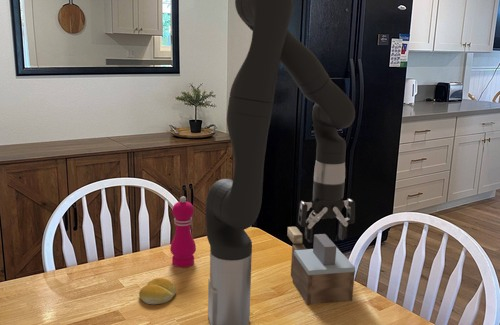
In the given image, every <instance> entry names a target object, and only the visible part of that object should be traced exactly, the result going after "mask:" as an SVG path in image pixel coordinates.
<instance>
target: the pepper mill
mask: <svg viewBox="0 0 500 325" xmlns="http://www.w3.org/2000/svg"><path fill="white" fill-rule="evenodd" d="M171 210H172V215H173V217H174V218H173V221H174V225H175V234H174V237H173V239H172V240H171V243H170V253H171V255H172V258H171V261H172V262H171V263H172V265H173V266H175V267H178V268H188V267H191V266H192V265H194V263H195V255H194V254H196V250H197V246H196V242H195V240H194V238H193V235H192V231H191V225H192V224H193V221H192V220H193V218H192V216H193V215H194V214H195V209H194V206H193V204H192V203H191V202H189V201H187V198H186V196H184V195H183V196H181V197H180V198H179V201H177V202H176V203H174V204H173V206H172V209H171Z"/></svg>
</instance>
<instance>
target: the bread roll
mask: <svg viewBox="0 0 500 325" xmlns="http://www.w3.org/2000/svg"><path fill="white" fill-rule="evenodd" d="M176 288H177V287H176V286H175V284H174V283H173V281H171V280H169V279H167V278H164V277H157V278H154V279H152V280H150V281H149V282H147V284H146V285H144V286H143V287H141V288H140V289H139V293H138V296H139V298H140V299H141V301H143V302H144V304H148V305H159V304H160V305H161V304H165V303H168V302H170V300H171V299H172V298H173V297H175V295H176V294H177V293H176V292H177V290H176Z"/></svg>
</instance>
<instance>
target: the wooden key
mask: <svg viewBox="0 0 500 325" xmlns="http://www.w3.org/2000/svg"><path fill="white" fill-rule="evenodd" d="M286 236H287V237H288V239H289V240H290V241H291V242H292V245H298V244H303V233H302V232H301V231H300V229H299V228H298V227H297V226H287V235H286Z"/></svg>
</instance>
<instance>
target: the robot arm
mask: <svg viewBox="0 0 500 325" xmlns="http://www.w3.org/2000/svg"><path fill="white" fill-rule="evenodd" d="M293 4H294V0H234V6H235V10H236V12H237V15H238V16H239V17H240V19H241V21H242V22H243V23H244V24H245V25H246V26H247V27H248V28H249V29H250V30H251V31H252V34H251V35H252V36H251V41H250V46H249V49H248V52H247V54H246V57H245V58H244V61H243V63H242V65H241V66H240V68H239V69H238V71H237V73H236V75H235V77H234V79H233V82H232V84H231V87H230V91H229V97H228V103H227V109H226V110H227V113H226V126H227V131H228V135H229V139H230V143H231V147H232V153H233V159H234V170H233V171H234V172H233V176H232V178H233V179H231V178H221V179H219V180H217V181H216V182H214V183H213V184H212V185H211V186H210V187H209V190H208V192H207V195H206V199H205V200H206V201H205V224H206V236H207V237H206V238H207V241H208V244H209V248H210V250H209V252H210V253H209V279H208V288H207V289H208V291H207V292H208V293H207V296H208V297H207V301H208V302H207V304H208V305H207V317H208V322H209V325H249V324H250V319H251V318H250V316H251V288H252V287H251V283H252V280H251V279H252V262H253V261H252V258H253V257H252V254H253V242H252V239H251V237H250V235H248V233H247V232H246V230H247V229H248V228H250V227H251V226H253V225H254V224H255V222H256V221H257V219H258V217H259V214H260V212H261V207H262V202H263V200H262V199H263V187H264V186H263V185H264V171H265V170H264V168H265V160H266V159H265V158H266V152H267V142H268V136H269V130H270V125H271V118H272V115H273V114H272V113H273V107H274V102H275V101H274V100H275V93H276V87H277V86H276V85H277V79H278V75H279V68H280V63H281V65H282V66H283V67H284V69H285V70H286V71H287V73H288V75H290V77H291V79H292V80H293V82H294V83H295V84H296V86H297V87H298V89H299V90H300V92H301V93H302V95H303V96H304V97H305V98H306V100H308V101H310V102H312V103H314V105H313V108H312V114H311V115H312V118H311V119H312V126H313V131H314V138H315V142H316V150H315V152H316V153H315V154H316V155H315V164H314V170H313V171H314V172H313V185H312V199H311V201H309V202H308V201H307V202H306V201H304V200H301V201H299V210H298V218H297V223H298V225H300V227H302V228H304V238H305V239H306V241H307V242H308V243H313V236H314V235H313V233H314V232H313V230H314V229H313V227H314V226H315V225H316V223H318V222H319V221H320V220H326V219H332V220H333V219H335V218H336V219H337V220H338V221H339V223H338V236H337V237H338V239H339V240H340V241H343V240H345V238H346V237H347V231H348V226H349V225H350V224H355V222H356V202H355V201H354V200H353V199H352V198H350V197H349V198H347V199H346V200H344V193H345V183H346V182H345V181H346V180H345V179H346V152H347V143H346V140H345V139H344V138H343V137H342V136H340V135H339V134H338V130H344V129H347V128H349V127H351V125H352V124H353V123H354V121H355V118H356V109H355V107H354V104H353V102H352V101H351V99H350V98H349V97H348V95H347V94H346V93H345V92H344V91H343V90H342V89H341V88H340V87H339V86H338V84H336V83H335V82H333V80H332V79H331V77H330V75H329V74H328V72H327V71H326V70H325V68H324V66H323V64H322V62H320V60H319V58H318V57H317V56H316V55H315V54H314V53H313V52H312V50H310V49H309V48H308V47H306V45H304V44H303V43H302V42H301V41H300V40H299V39H297V38H296V37H295V36H294V35H293V33H291V31H290V30H289V29H288V28H289V25H290V22H291V17H292V13H293V8H294V7H293V6H294V5H293ZM337 129H338V130H337ZM344 207H345V208H346V217H344V215H343V214H342V212H341V211H342V209H343V208H344ZM311 208H312V211H311V212H310V213H309V215H308V217H307V214H308V211H310V209H311Z"/></svg>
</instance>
